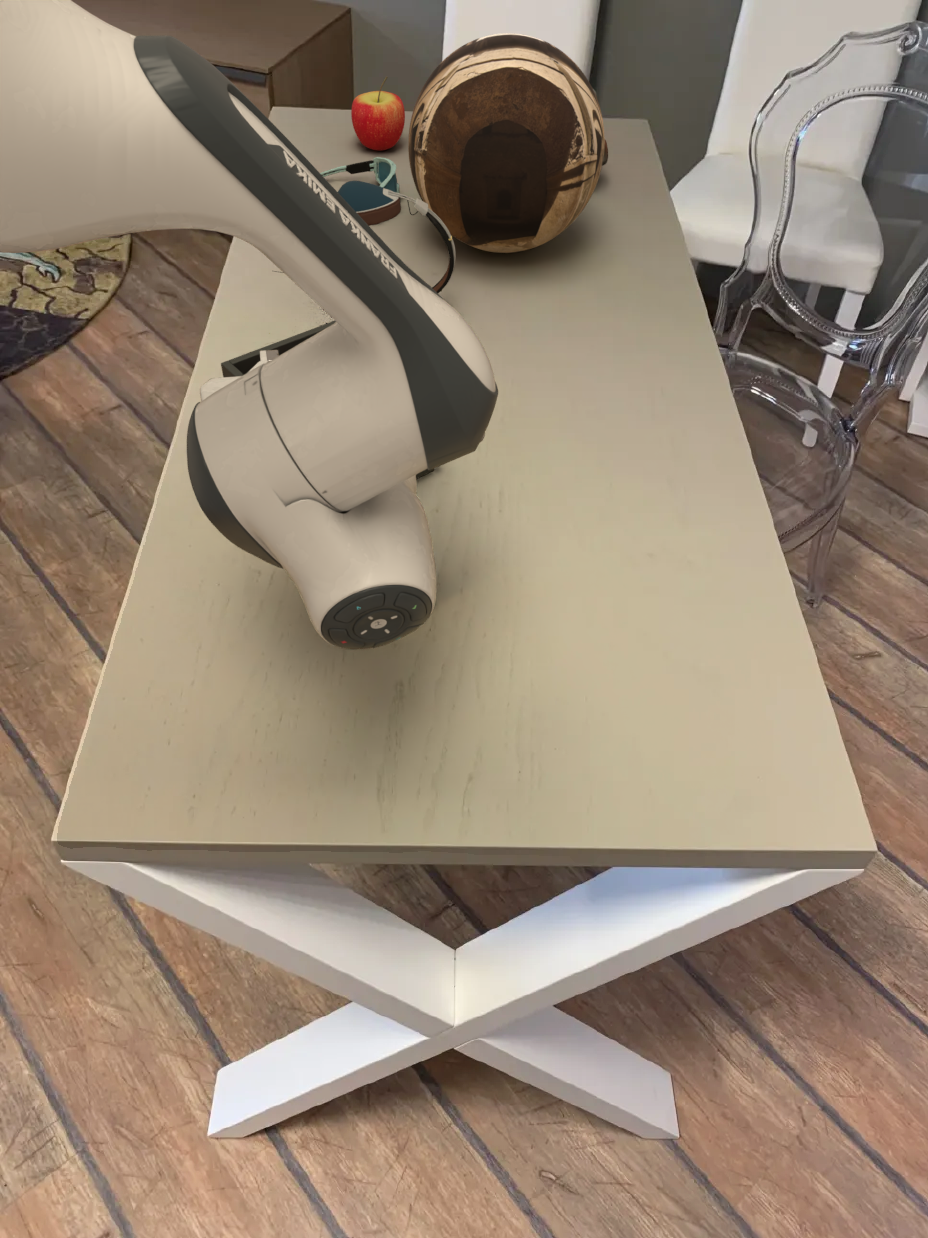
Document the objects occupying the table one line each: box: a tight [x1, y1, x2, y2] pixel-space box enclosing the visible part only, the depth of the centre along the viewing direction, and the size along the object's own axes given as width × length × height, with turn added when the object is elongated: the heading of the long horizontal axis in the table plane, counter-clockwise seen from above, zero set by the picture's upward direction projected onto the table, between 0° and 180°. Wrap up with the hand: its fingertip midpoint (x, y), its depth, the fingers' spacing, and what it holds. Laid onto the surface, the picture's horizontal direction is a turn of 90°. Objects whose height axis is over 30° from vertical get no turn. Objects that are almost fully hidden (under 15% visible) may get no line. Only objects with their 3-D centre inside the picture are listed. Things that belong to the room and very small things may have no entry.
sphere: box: [407, 32, 606, 254], centre depth 121 cm, size 25×25×25 cm
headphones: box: [273, 180, 456, 294], centre depth 112 cm, size 6×15×22 cm
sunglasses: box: [319, 156, 400, 194], centre depth 135 cm, size 14×15×5 cm
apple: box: [350, 76, 406, 152], centre depth 146 cm, size 8×8×10 cm
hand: (328, 353), depth 76 cm, fingers open, 8 cm apart
